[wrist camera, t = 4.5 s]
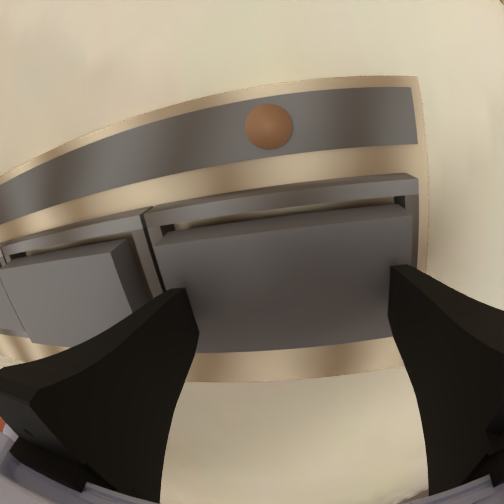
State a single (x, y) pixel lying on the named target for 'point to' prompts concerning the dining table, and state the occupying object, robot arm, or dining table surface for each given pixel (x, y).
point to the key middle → (74, 291)
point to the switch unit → (228, 192)
